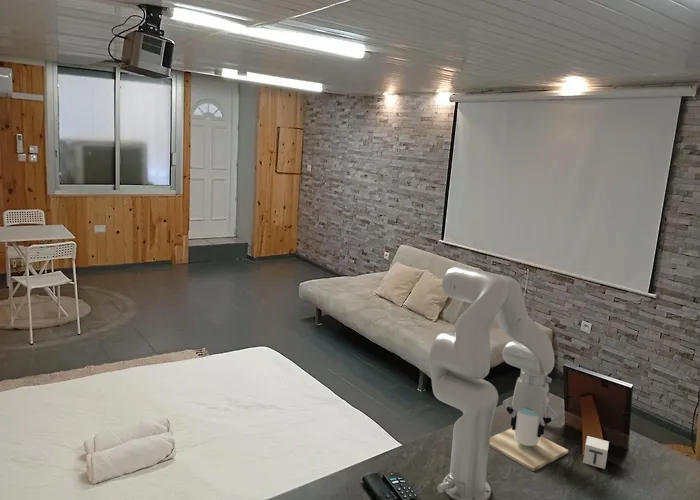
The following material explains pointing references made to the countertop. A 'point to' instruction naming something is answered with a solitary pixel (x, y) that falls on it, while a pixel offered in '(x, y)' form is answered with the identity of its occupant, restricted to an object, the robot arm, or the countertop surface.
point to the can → (527, 427)
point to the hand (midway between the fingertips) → (526, 431)
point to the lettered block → (596, 452)
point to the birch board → (526, 450)
